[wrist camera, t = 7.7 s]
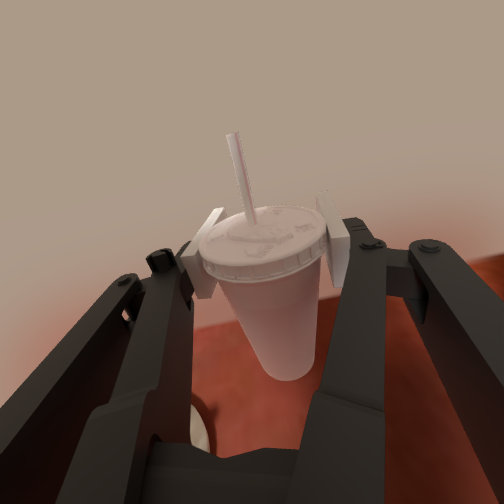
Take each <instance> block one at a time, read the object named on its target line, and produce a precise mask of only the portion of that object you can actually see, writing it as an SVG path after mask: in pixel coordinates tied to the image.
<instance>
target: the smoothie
mask: <svg viewBox="0 0 504 504" xmlns="http://www.w3.org/2000/svg"><path fill="white" fill-rule="evenodd" d="M226 137H227V142H228V146H229V150H230V154H231V158H232V162H233V166H234V171H235V175H236V179H237V183H238V187H239V192H240V196H241V200H242V204H243V208H244V212H242V213H239V214H236V215H233V216H231V217H229V218H227V219H224V220H222V221H221V222H219V223H217V224H216V225H214V226H213V227H212V228H210V229H209V230H208V231H207V232H206V233H205V234H204V235H203V236H202V238H201V240H200V242H199V245H198V249H199V253H200V255H201V258H202V262H203V267H204V269H205V270H206V271H207V273H208V274H209V275H211V276H213V277H214V278H216V279H217V280H218V282H219V284H220V286H221V288H222V290H223V292H224V294H225V296H226V297H227V299H228V302H229V303H230V305H231V307H232V309H233V311H234V313H235V315H236V317H237V319H238V321H239V323H240V325H241V326H242V328H243V330H244V332H245V334H246V336H247V338H248V340H249V342H250V344H251V346H252V348H253V349H254V351H255V353H256V355H257V357H258V359H259V361H260V363H261V365H262V367H263V369H264V370H265V371H266V373H267V374H269V375H270V376H271V377H273V378H275V379H278V380H282V381H292V380H296V379H299V378H301V377H303V376H304V375H305V374H307V373H308V372H309V370H310V369H311V368H312V366H313V363H314V358H315V342H316V326H317V310H318V293H319V278H320V262H321V257H322V255H323V253H324V252H325V250H326V249H327V247H328V236H327V232H326V221H325V219H324V217H323V216H322V215H321V214H320V213H318V212H317V211H314V210H313V209H309V208H306V207H302V206H295V205H277V206H267V207H261V208H256V209H255V206H254V201H253V197H252V192H251V187H250V183H249V178H248V173H247V169H246V164H245V160H244V155H243V150H242V146H241V141H240V137H239V133H238V132H236V133H232V134H228V135H226Z"/></svg>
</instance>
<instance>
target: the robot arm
mask: <svg viewBox="0 0 504 504" xmlns="http://www.w3.org/2000/svg"><path fill="white" fill-rule="evenodd" d="M316 204H317V212H318V213H320V214H321V215H322V216H323V217H324V219H325V221H326V232H327V236H328V247H327V249H326V250H325V256H326V260H327V263H328V266H329V271H330V275H331V278H332V282H333V286H334V288H342V287H343V288H342V292H341V297H340V301H339V305H338V310H337V314H336V318H335V323H334V327H333V331H332V336H331V340H330V345H329V349H328V353H327V358H326V362H325V366H324V371H323V375H322V380H321V384H320V387H319V389H318V390H316V391H315V392H314V394H313V397H312V400H311V404H310V407H309V411H308V415H307V420H306V424H305V428H304V432H303V436H302V440H301V444H300V448H299V450H295V449H277V448H262V449H258V450H254V451H251V452H247V453H243V454H239V455H236V456H232V457H228V458H220V457H217V456H215V455H213V454H211V453H208V452H206V451H204V450H202V449H200V448H197V447H195V446H193V445H192V443H191V437H190V420H191V388H192V356H193V323H194V301H193V299H192V295H193V293H194V291H195V294H196V296H197V298H198V299H207V298H211V297H212V294H213V291H214V289H215V286H216V284H217V281H218V280H217V279H216V278H214V277H213V276H211V275H209V274H208V273H207V271H206V270H205V269H204V267H203V262H202V258H201V255H200V253H199V249H198V245H199V242H200V240H201V238H202V236H203V235H204V234H205V233H206V232H207V231H208V230H209V229H210V228H212V227H213V226H214V225H216V224H217V223H219V222H221V221H222V220H224V219H227V214H226V211H225V207H223V208H217V209H214V210H213V212H212V213H211V215H210V216H209V217H208V219H207V220H206V222H205V223H204V224H203V226H202V227H201V229H200V230H199V231H198V233H197V234H196V235H195V237H194V238H193V240H192V241H188V242H187V243H186V244H184V245H183V246H182V247H181V249H180V251H179V252H178V253H177V254H176V256H175V257H174V255H173V252H172V250H171V249H167V248H165V249H160V250H157V251H155V252H153V253H151V254H150V255H149V256H147V258H146V261H147V263H148V265H149V267H150V269H151V270H152V275H151V277H149V278H145V279H142V280H140V279H139V277H138V276H137V274H135V273H131V274H125V275H123V276H121V277H119V278H118V279H116V280H115V281H114V282H113V283H112V284H111V285H110V286H109V287H108V289H107V290H106V291H105V292H104V293H103V294H102V295H101V296H100V297H99V299H98V300H97V301H96V302H95V303H94V304H93V305H92V306H91V307H90V309H89V310H88V311H87V312H86V313H85V314H84V315H83V316H82V318H81V319H80V320H79V321H78V322H77V323H76V324H75V325H74V327H73V328H72V329H71V330H70V331H69V332H68V333H67V334H66V336H65V337H64V338H63V339H62V340H61V341H60V342H59V343H58V344H57V346H56V347H55V348H54V349H53V350H52V351H51V352H50V353H49V354H48V356H47V357H46V358H45V359H44V360H43V361H42V362H41V363H40V364H39V366H38V367H37V368H36V369H35V370H34V371H33V372H32V373H31V375H30V376H29V377H28V378H27V379H26V380H25V381H24V382H23V383H22V385H21V386H20V387H19V388H18V389H17V390H16V391H15V392H14V394H13V395H12V396H11V397H10V398H9V399H8V400H7V401H6V403H5V404H4V405H3V406H2V407H1V408H0V504H384V487H385V412H384V378H385V317H386V295H389V296H397V297H403V300H404V302H405V304H406V306H407V308H408V311H409V313H410V315H411V317H412V319H413V321H414V323H415V325H416V328H417V330H418V332H419V334H420V336H421V338H422V340H423V342H424V345H425V347H426V349H427V351H428V353H429V355H430V357H431V360H432V362H433V364H434V366H435V368H436V370H437V372H438V374H439V377H440V379H441V381H442V383H443V385H444V387H445V389H446V391H447V394H448V396H449V398H450V400H451V402H452V404H453V406H454V408H455V411H456V413H457V415H458V417H459V419H460V421H461V423H462V425H463V428H464V430H465V432H466V434H467V436H468V438H469V440H470V442H471V445H472V447H473V449H474V451H475V453H476V455H477V457H478V459H479V462H480V464H481V466H482V468H483V470H484V472H485V474H486V476H487V479H488V481H489V483H490V485H491V487H492V489H493V491H494V493H495V496H496V498H497V500H498V502H499V504H504V302H503V301H502V300H501V298H500V297H499V296H498V295H497V294H496V293H495V292H494V291H493V290H492V289H491V288H490V287H489V286H488V285H487V284H486V283H485V282H484V281H483V280H482V279H481V278H480V277H479V276H478V275H477V274H476V273H475V272H474V271H473V270H472V269H471V267H470V266H469V265H468V264H467V263H466V262H465V261H464V260H463V259H462V258H461V257H460V256H459V255H458V254H457V253H456V252H455V251H454V250H453V249H452V248H451V247H450V246H449V245H447V244H446V243H443V242H441V241H438V240H432V239H426V240H425V239H424V240H417V241H414V242H412V243H411V244H410V245H409V250H397V249H390V248H387V246H386V244H385V242H383V241H382V240H379V239H376V238H374V237H373V235H372V234H371V232H370V231H369V230H368V228H367V226H366V225H365V223H364V222H363V221H362V220H361V219H358V218H356V217H355V218H348V219H341V217H340V215H339V212H338V210H337V208H336V206H335V204H334V202H333V200H332V198H331V197H330V194H329V192H328V191H327V190H326V191H320V192H316ZM123 310H125V311H126V313H127V315H128V316H129V318H128V319H127V320H124V318H123V316H122V312H123Z"/></svg>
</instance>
